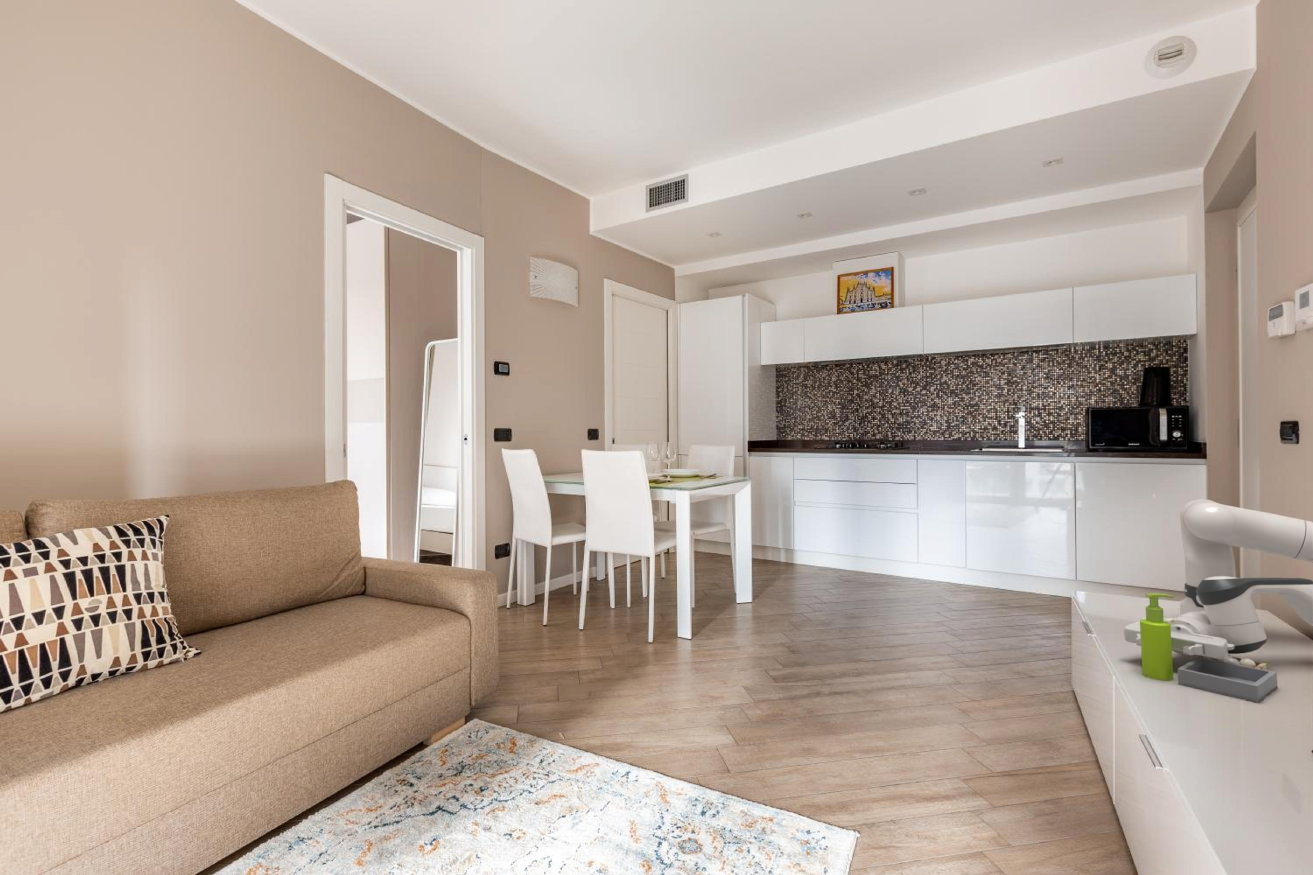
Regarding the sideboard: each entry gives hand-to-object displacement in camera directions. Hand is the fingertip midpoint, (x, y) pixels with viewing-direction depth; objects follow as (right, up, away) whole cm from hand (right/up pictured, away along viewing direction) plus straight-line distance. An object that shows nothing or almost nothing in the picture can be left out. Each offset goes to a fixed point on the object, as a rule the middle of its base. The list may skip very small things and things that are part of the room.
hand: (1162, 646), depth 153 cm
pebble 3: (+21, -4, 0) cm, 21 cm away
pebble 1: (+19, -5, +4) cm, 20 cm away
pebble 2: (+18, -4, +1) cm, 18 cm away
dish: (+9, -7, -7) cm, 13 cm away
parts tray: (+19, -7, +2) cm, 20 cm away
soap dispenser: (0, -7, 0) cm, 7 cm away
